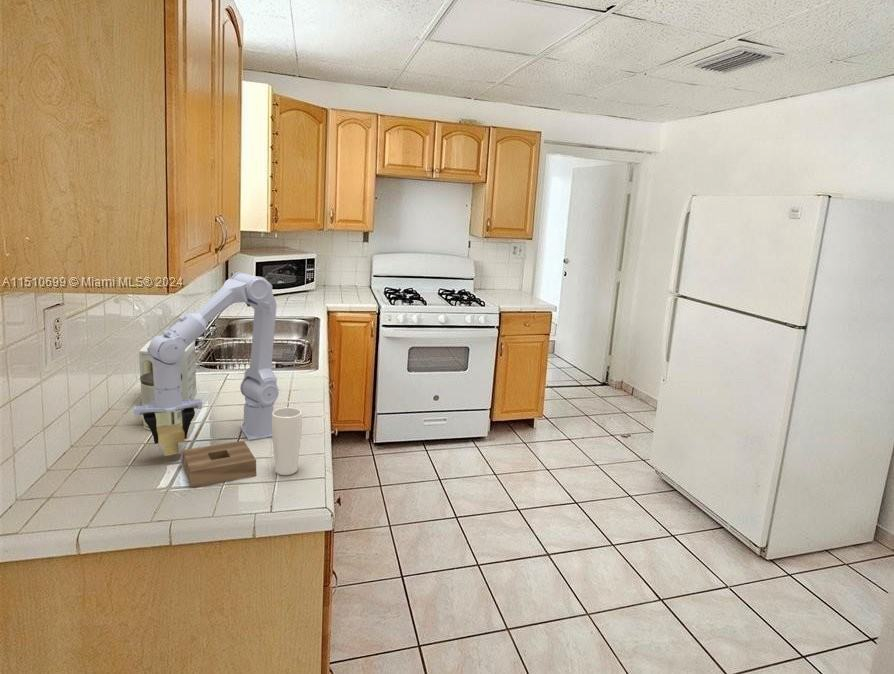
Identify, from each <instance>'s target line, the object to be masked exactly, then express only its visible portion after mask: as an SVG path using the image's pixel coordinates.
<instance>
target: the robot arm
mask: <svg viewBox="0 0 894 674" xmlns="http://www.w3.org/2000/svg"><path fill="white" fill-rule="evenodd" d="M236 303H237V304H238V303H247V304H248V305H249V306H250V307H251V308H252V309H253V310H254V312H253V313H254V314H253V324H252V338H251V349H250V364H249V368H247V369H246V370H245V371H244V377H243V379H242V381H241V383H240V386H239V387H240V393H241V395H243V396H244V398H245V399H244V401H245V402H244V405H243V425H241V426H240V427H239V428H240V430H241V431H242V433H243V434H244V436H245V438H246V439H247V440H248V441H253V440H258V439H265V438H273V437H272V412H273V411H274V405H275V402H276V401H277V399H278V397H279V386H278V384H277V383H278V382H277V380H278V378H277V376H276V374H275V373H274V372H273V369H272V364H273V352H274V341H275V340H274V339H275V328H276V320H277V319H276V317H277V302H276V298H275V296H274V293H273V285H272V284H271V282H269V281H268V280H267V278H265V277H263V276H256V275H253V274H248V273H246V272H242V271H239V272H236V273H234V274H232V275H231V277H230V278H228V279H227V280H225V281H224V283H223V284H222V287H221V288H220V289H218V290H217V292H215V294H214V295H213V296H212V297H210V298H209V299H208V300H207V302H205V303H204V304H203V305H202V306H201V307H200V308H199V309H198V310H197V311H196V312H195V313H193V312H189V313H186V314H181V315H180V316H179V317H178V321H177V322H176V323H175V324H174V325H172V326H171V327H170V328H169V329H165V330H164V331H163V334H161V335H157V336H155V337H154V338H152V339H151V340H152V341H151V342H150V345H149V347H148V348H147V351H148V353H149V355H150V356H151V357H152V358H153V377H154V393H155V402H154V403H150V404H146V405H142V404H141V405H137V406H133V414H134V415H133V416H134V418H138V417H141V416H142V418H143V417H144V420H145V422H146V424H147V425H148V427H149V428H150V430H151V431H150V432H151V435H152V436H153V437H152V438H153V442H154V444H155V445H156V444H158V437H157V423H156V421H157V420H156V415H155V414H156V413H164V412H175V411H179V410H181V413H182V427H183V429H184V434H185V440H187V439H188V432H189V430H190V426H191V423H192V421H193V419H194V418H195V416H196V412H195V409H197V410H201V409H203V401H202V399H201V398H193V399H182V396H181V374H180V360H181V359H182V358H183V356H184V353H185V349H186V348H187V347H188V346H189V345H190V344H191V343H192V342H193V341H195V342H196V340H197V339H199V337H200V336H201V335H203V333H205V332H206V330H207V324H208V323H209V322H210V321H211V320H213V319H214V318H215V317H216V316H218V315H219V314H220V313H221V312H223V311H224V310H225V309H226V308H228V307H229V306H230V305H232V304H236Z"/></svg>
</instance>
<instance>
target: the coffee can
mask: <svg viewBox="0 0 894 674" xmlns="http://www.w3.org/2000/svg"><path fill="white" fill-rule="evenodd" d="M180 374H181V373H180ZM139 380H140V390H141V391H140V393H141V392H142V397H141V405H146V404H150V403H154V402H155V393H154V377H153V372H150V373H147V374H144V375H142V376H141V377H139ZM181 396H182V399H183V389H182V374H181ZM155 415H156V420H157V421H156V423H157V426H165V425H172V424H180V423H181V425H182V413H181V410H179V411H175V412H164V413H156V414H155ZM142 420H143V424H142V425H143V428H144V429H145V430H147V431H150V432H151V430H150V428H149V427H148V425H147V424H146V422H145V420H144V417H143V416H142Z"/></svg>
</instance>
